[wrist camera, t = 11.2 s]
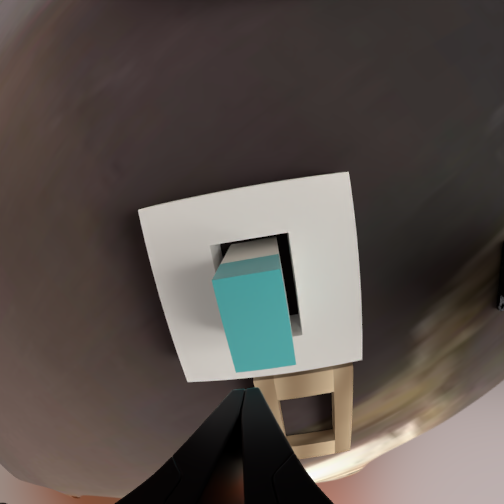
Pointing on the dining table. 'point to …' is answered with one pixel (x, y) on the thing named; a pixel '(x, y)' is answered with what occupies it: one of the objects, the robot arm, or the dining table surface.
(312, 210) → the port block
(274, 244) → the plug
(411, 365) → the dining table surface
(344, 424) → the holster
